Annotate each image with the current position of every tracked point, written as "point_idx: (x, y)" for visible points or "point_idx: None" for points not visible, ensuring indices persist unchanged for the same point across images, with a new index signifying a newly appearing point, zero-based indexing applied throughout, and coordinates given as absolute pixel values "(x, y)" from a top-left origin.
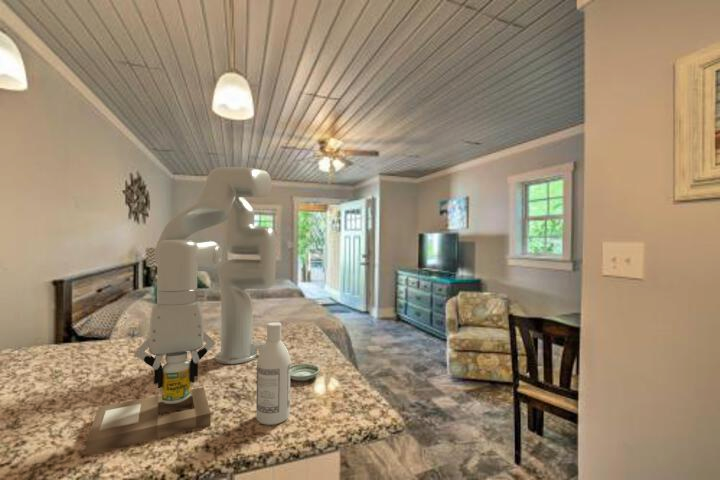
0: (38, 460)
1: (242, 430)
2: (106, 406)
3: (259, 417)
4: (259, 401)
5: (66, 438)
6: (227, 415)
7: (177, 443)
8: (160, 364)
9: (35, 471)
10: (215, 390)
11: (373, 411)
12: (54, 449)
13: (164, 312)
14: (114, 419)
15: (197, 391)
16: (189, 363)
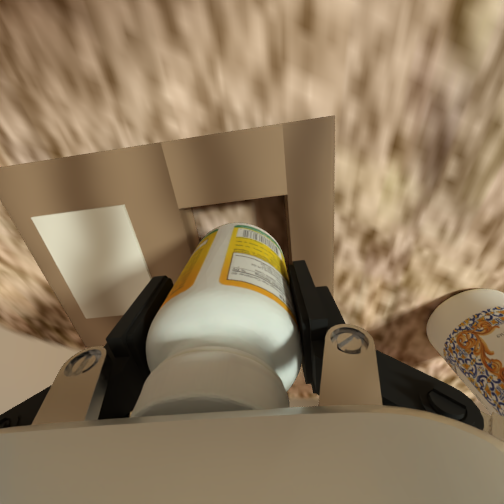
0: (23, 310)
1: (383, 342)
2: (8, 175)
3: (433, 345)
4: (464, 379)
5: (12, 247)
6: (370, 274)
7: None
8: (132, 404)
9: (46, 338)
10: (377, 53)
11: None
12: (22, 284)
13: None
14: (93, 282)
15: (307, 157)
16: (298, 368)
